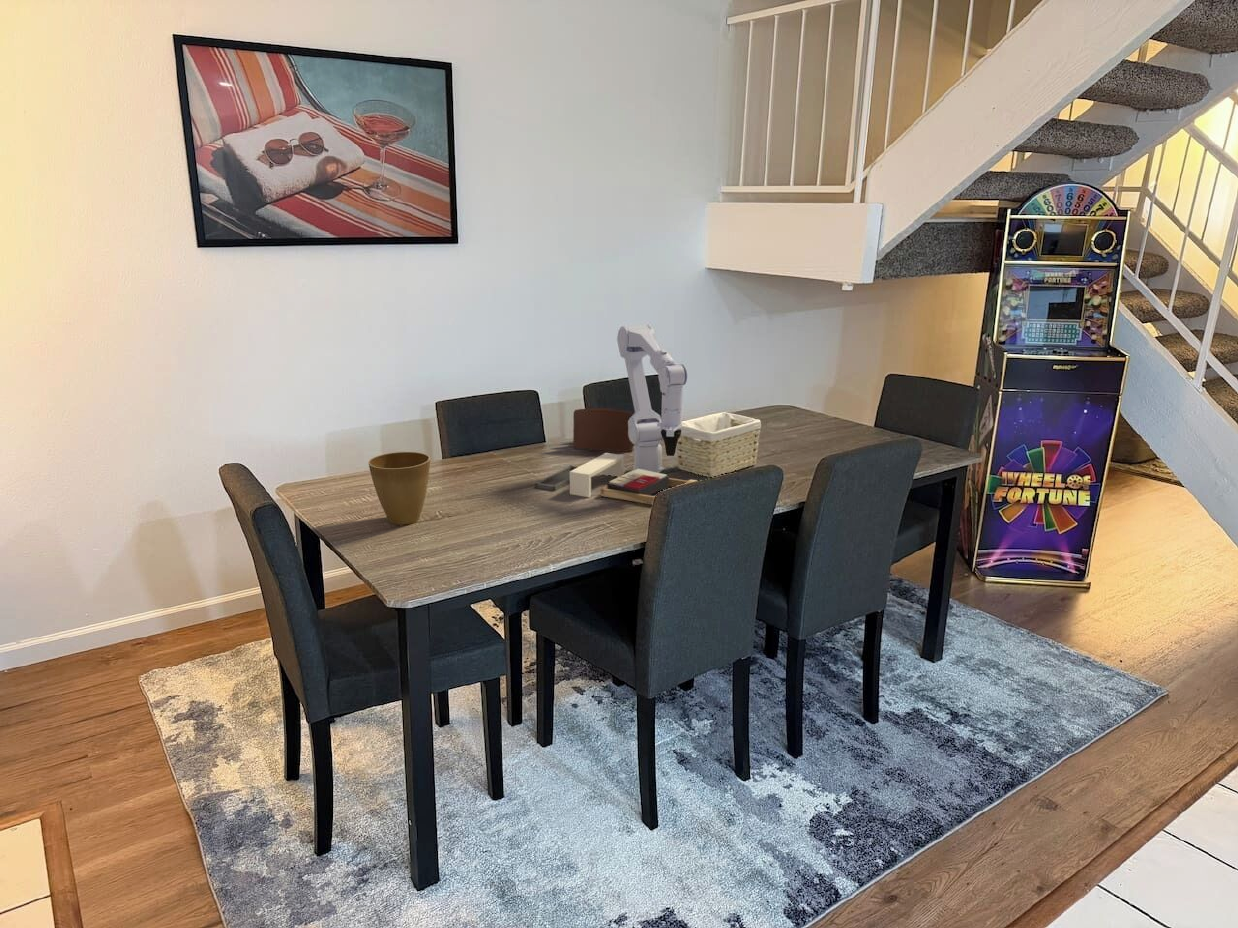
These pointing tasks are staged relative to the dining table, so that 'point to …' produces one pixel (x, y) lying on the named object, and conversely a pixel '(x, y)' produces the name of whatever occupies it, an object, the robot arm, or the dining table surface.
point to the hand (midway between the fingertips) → (670, 455)
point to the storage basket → (718, 444)
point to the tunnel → (584, 474)
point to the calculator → (640, 482)
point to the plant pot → (401, 484)
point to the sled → (638, 497)
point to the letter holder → (602, 429)
